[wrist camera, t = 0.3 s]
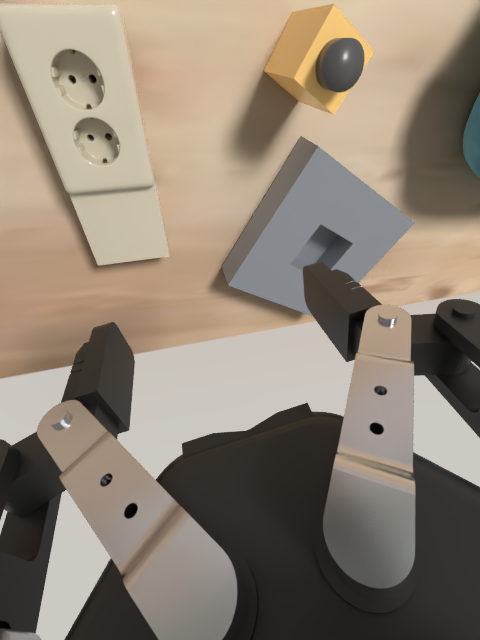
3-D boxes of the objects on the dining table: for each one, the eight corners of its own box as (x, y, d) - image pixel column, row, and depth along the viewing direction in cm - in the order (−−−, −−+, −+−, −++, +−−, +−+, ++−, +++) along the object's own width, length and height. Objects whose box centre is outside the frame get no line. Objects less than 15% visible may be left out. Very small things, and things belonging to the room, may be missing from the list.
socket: (301, 136, 28) (318, 146, 25) (393, 208, 36) (414, 222, 34) (221, 266, 36) (227, 285, 33) (312, 302, 44) (323, 320, 42)
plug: (292, 12, 22) (346, 1, 16) (327, 49, 24) (387, 52, 18) (263, 70, 24) (302, 80, 18) (298, 100, 26) (343, 118, 20)
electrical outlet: (96, 270, 29) (-14, 2, 16) (101, 250, 32) (9, 8, 19) (170, 260, 30) (118, 3, 18) (168, 241, 33) (121, 8, 21)
